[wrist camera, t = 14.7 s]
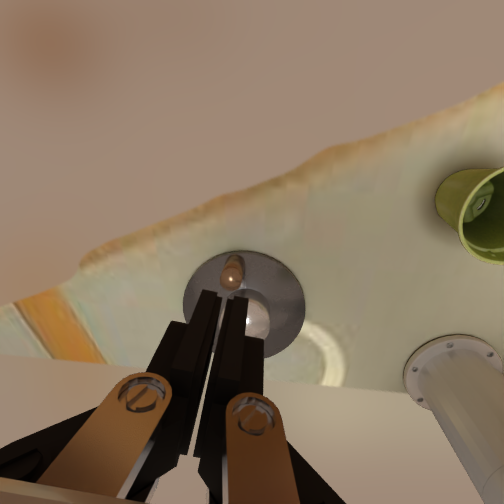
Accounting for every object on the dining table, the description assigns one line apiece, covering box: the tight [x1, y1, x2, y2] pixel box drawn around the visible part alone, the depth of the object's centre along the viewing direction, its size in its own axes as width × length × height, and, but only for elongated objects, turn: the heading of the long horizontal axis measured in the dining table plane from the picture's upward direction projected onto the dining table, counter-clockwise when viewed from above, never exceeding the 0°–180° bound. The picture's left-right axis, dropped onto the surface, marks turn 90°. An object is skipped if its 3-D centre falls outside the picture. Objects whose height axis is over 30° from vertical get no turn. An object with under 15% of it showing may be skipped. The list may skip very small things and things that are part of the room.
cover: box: [219, 288, 270, 340], centre depth 40 cm, size 6×6×4 cm
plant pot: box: [435, 167, 504, 265], centre depth 32 cm, size 9×9×9 cm
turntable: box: [183, 251, 305, 358], centre depth 40 cm, size 16×16×6 cm
